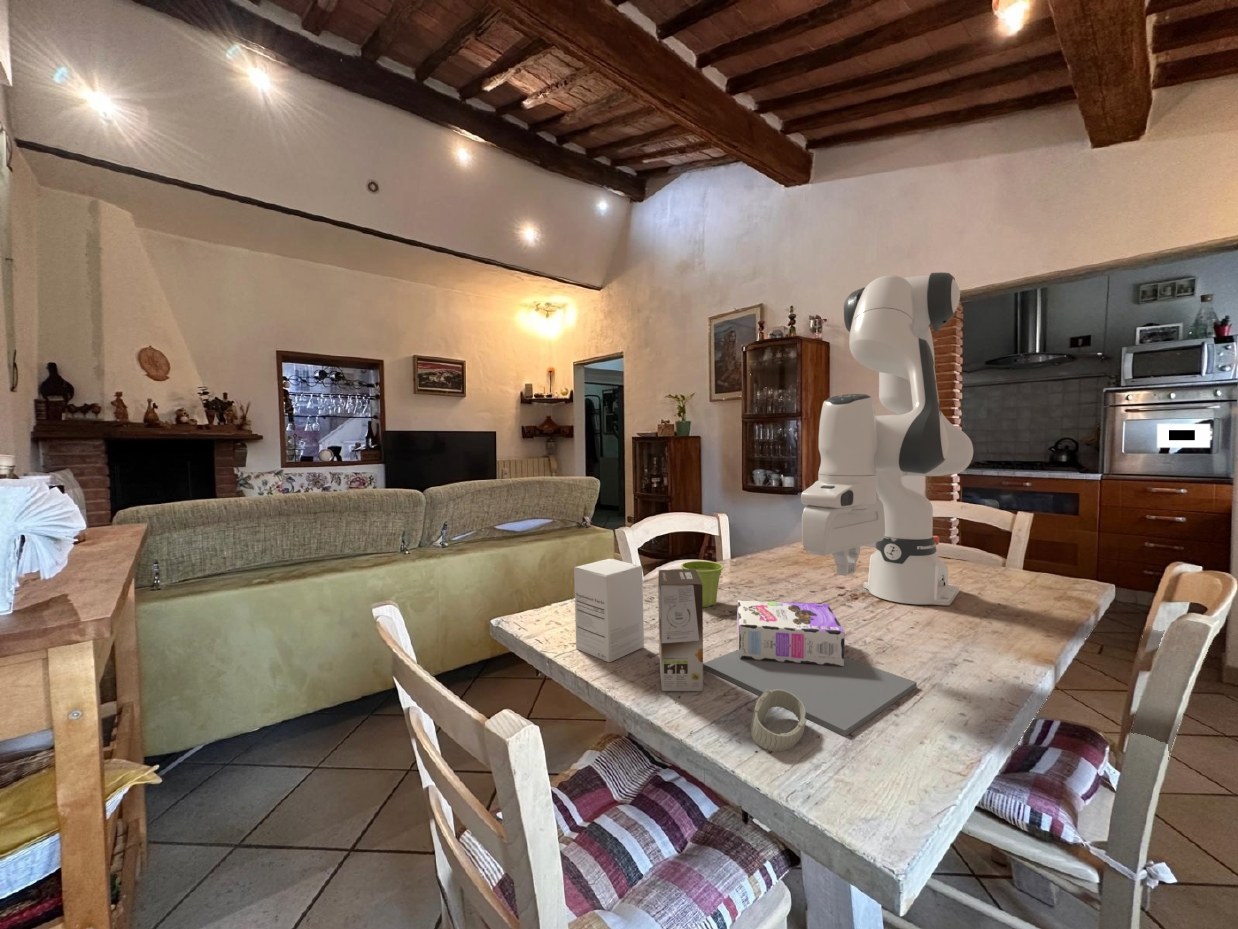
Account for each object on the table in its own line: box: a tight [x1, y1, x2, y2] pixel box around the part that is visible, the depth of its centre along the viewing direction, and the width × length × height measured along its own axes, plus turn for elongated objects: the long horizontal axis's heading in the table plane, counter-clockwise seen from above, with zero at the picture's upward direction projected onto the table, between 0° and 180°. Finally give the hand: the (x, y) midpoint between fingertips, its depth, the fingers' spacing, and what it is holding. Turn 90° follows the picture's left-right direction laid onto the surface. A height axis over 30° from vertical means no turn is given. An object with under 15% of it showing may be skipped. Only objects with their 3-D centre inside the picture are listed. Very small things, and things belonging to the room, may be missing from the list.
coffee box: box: [657, 568, 704, 692], centre depth 78 cm, size 9×6×16 cm
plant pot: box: [680, 560, 724, 608], centre depth 114 cm, size 9×9×9 cm
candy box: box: [736, 599, 846, 666], centre depth 87 cm, size 14×6×16 cm
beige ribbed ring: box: [749, 689, 807, 752], centre depth 63 cm, size 9×6×5 cm
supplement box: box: [573, 558, 645, 663], centre depth 90 cm, size 9×9×15 cm
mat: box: [703, 648, 918, 738], centre depth 78 cm, size 20×24×1 cm
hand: (846, 574), depth 84 cm, fingers closed
